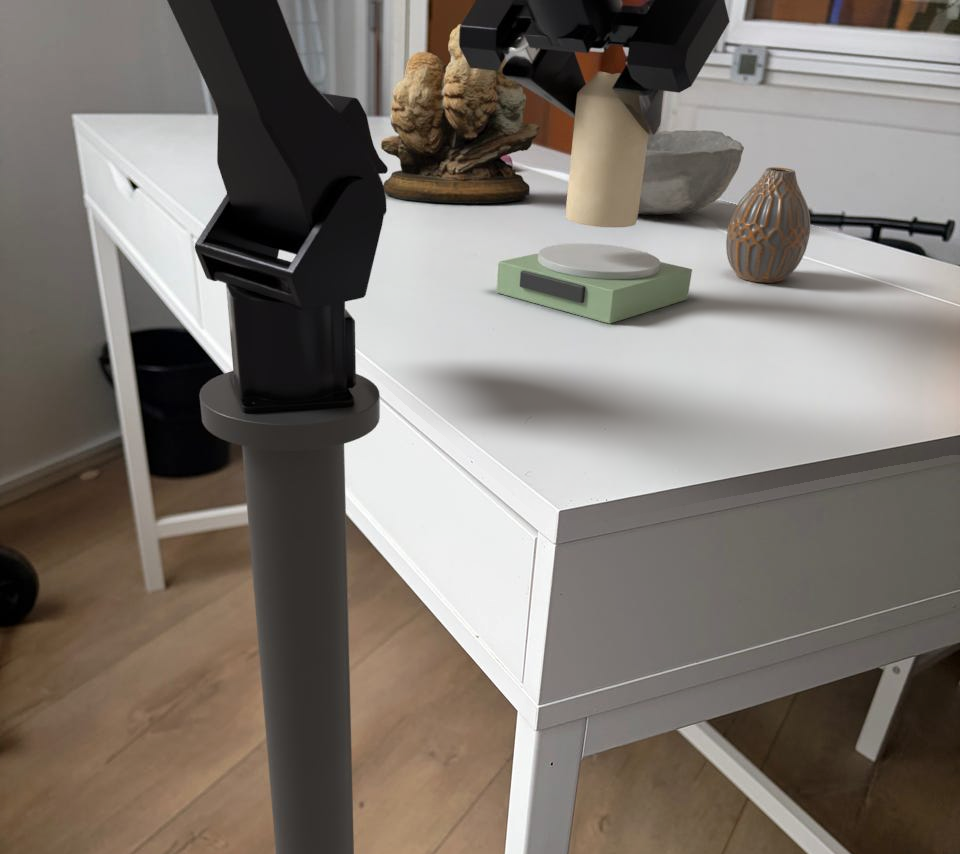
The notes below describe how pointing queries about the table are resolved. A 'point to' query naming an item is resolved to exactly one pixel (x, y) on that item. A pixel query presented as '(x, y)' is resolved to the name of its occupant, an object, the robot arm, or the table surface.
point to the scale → (594, 280)
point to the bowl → (687, 170)
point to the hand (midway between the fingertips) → (622, 125)
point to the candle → (605, 158)
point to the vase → (769, 228)
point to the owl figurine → (456, 132)
